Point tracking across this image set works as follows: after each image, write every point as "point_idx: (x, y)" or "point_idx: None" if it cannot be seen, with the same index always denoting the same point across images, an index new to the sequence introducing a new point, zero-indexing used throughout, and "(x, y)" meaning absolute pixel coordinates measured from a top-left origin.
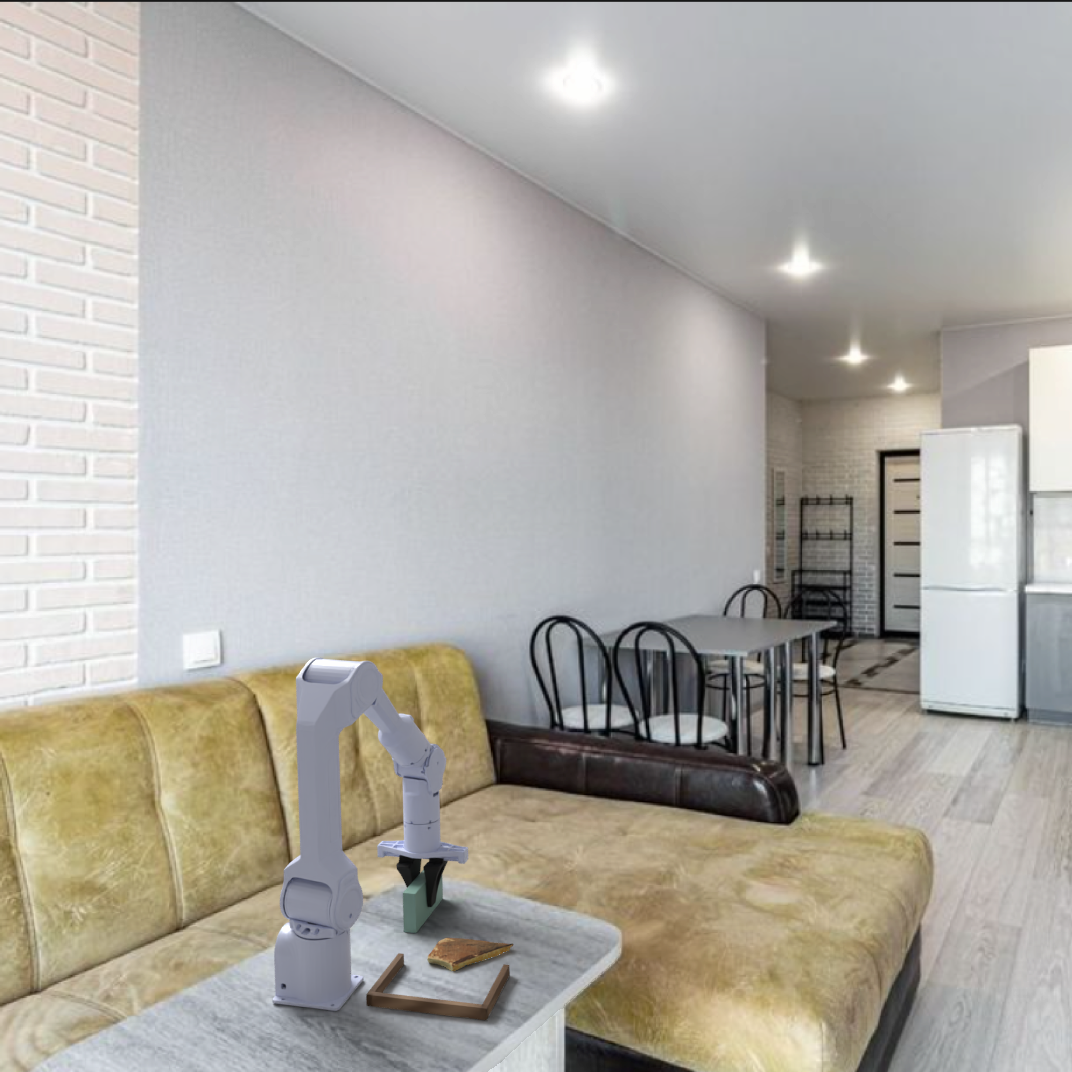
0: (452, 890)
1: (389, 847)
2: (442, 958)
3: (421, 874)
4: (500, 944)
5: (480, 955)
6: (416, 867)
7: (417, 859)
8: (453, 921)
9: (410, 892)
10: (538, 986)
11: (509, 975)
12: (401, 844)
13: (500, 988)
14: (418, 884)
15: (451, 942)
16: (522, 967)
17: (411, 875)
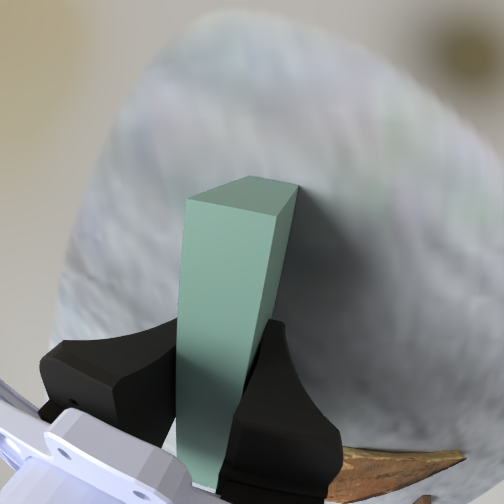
0: (326, 104)
1: (5, 460)
2: (325, 499)
3: (187, 379)
4: (443, 464)
5: (396, 490)
6: (151, 416)
7: (132, 434)
8: (353, 357)
9: (201, 481)
10: (456, 500)
11: (429, 496)
12: (18, 465)
13: None
14: (209, 451)
15: (344, 473)
16: (456, 479)
17: (160, 445)
